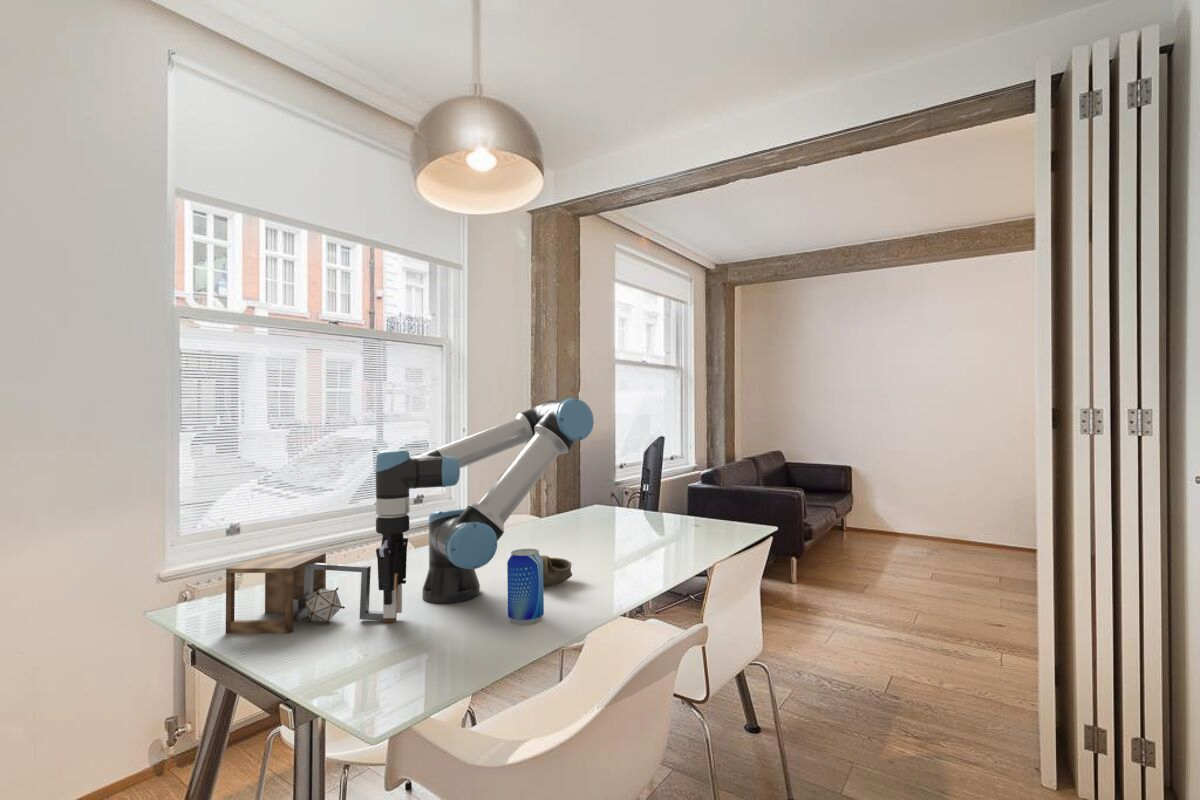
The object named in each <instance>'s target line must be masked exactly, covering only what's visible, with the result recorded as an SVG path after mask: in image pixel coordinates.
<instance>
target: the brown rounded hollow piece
mask: <svg viewBox="0 0 1200 800" xmlns="http://www.w3.org/2000/svg"><path fill="white" fill-rule="evenodd" d="M540 556H541V558H542V559H543V587H544V586H546V587H548V586H549V587H552V586H558V585H560V584H563V583H564V582H565V581H568V580H569V579H570V578H571V577H572V576H573V572H572V571H571V570H572V562H571V561H569V560H568V559H566V558H561V557H560V558H559V557H550V556H548V555H545V554H544V555H540Z"/></svg>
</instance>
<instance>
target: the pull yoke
mask: <svg viewBox="0 0 1200 800" xmlns="http://www.w3.org/2000/svg"><path fill="white" fill-rule="evenodd" d="M314 569H318V570H326V571H336V572H337V571H338V572H350V573H351V572H352V573H353V572H354V573H360V574H361V575H360V577H361V579H360V599H359V620H366V621H379V622H384V623H393V622H396V621H397V617H398V613H397V598H398V575H399V573H398V572H395V580H394V589H396V617H395V618H383V611H379V610H378V611H377V610H370V592H371V571H372V570H371V569H372V566H371V565H361V564H360V565H359V564H341V563H329V562H328V563H327V562H326V563H311V564H309V565H307V566H305V579H304V594H302V595H300V596H298V597H296V598H293V622H299V621H300V620H303V619H305V618H306V617H309V615H308V612H307V609H306V606H305V604H302V603H301V602H302V601H303V602H306V601H307V600H308V599H309V598H310V597H311V596H312V595H313V594H314V593H315V592H316V591H317V590H318V588H315V589H313V577H314ZM320 589H324V588H321V587H320Z"/></svg>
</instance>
